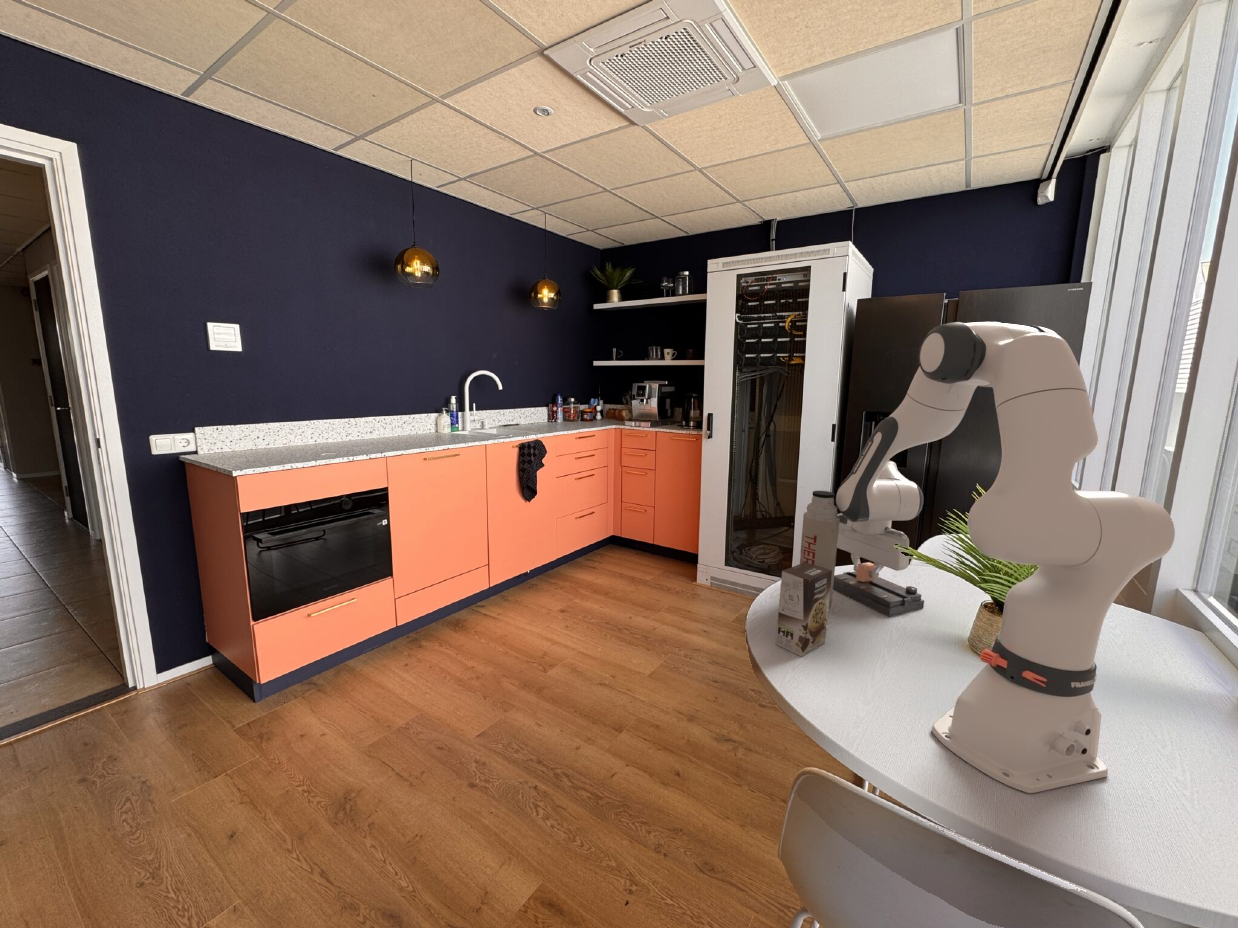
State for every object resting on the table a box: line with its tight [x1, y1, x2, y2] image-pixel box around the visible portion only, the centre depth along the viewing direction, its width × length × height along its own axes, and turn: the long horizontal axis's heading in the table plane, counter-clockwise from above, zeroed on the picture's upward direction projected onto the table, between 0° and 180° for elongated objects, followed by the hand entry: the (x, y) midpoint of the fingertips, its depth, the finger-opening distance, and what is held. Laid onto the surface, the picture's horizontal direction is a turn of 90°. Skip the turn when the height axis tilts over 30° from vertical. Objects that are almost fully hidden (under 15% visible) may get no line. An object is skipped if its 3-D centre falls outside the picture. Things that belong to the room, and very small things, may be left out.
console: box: [833, 570, 925, 618], centre depth 128 cm, size 12×18×4 cm, turn 25°
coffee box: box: [775, 562, 832, 657], centre depth 104 cm, size 9×6×16 cm
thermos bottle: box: [799, 490, 840, 611], centre depth 122 cm, size 8×8×28 cm
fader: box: [856, 561, 876, 584], centre depth 130 cm, size 4×2×6 cm, turn 115°
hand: (865, 574), depth 130 cm, fingers open, 3 cm apart
